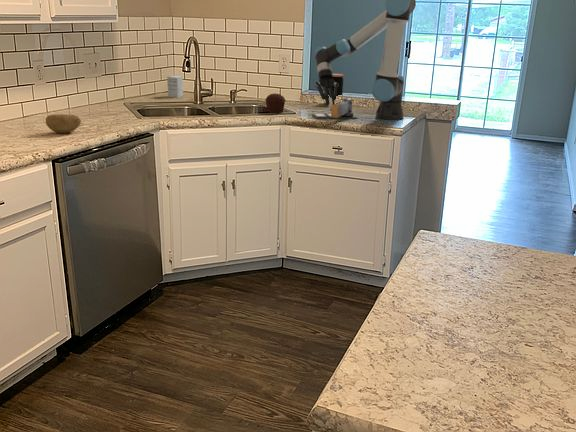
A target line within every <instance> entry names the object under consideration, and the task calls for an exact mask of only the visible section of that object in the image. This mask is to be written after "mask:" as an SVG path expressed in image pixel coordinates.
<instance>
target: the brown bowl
mask: <svg viewBox="0 0 576 432" xmlns="http://www.w3.org/2000/svg"><path fill="white" fill-rule="evenodd" d="M81 122H82V120H81V118H80V117H79V116H77V115H75V114H66V113H65V114H63V113H62V114H60V113H59V114H49V115H48V116H46V118H45V124H46V126H47V127H48V129H49V130H51V131H52V132H54V133H58V134H68V133H71V132H74V131H75V130H77V129H78V128H79V127H80V126H81Z"/></svg>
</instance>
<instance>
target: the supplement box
mask: <svg viewBox="0 0 576 432" xmlns="http://www.w3.org/2000/svg"><path fill="white" fill-rule="evenodd" d="M166 81H167V82H166V83H167V88H166V89H167V97H168V98H175V97H176V99H178V98H182V97H184V85H183V84H184V83H183V76H181V75H179V76H178V75H171V76H167V77H166Z"/></svg>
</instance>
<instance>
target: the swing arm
mask: <svg viewBox="0 0 576 432" xmlns="http://www.w3.org/2000/svg"><path fill="white" fill-rule="evenodd" d="M353 101H354V100H353V98H350V97H346V98H345V97H344V98H342V102H339V103H336V104H332V108H331V111H330V114H331V117H335V118H338V117H339V116H341V115H344V114H346V113H351V112H352V111H353Z"/></svg>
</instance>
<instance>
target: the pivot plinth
mask: <svg viewBox="0 0 576 432" xmlns="http://www.w3.org/2000/svg"><path fill="white" fill-rule="evenodd" d="M340 118H341V119H340V120H353V119H354V120H358V117H357V116H355V115H354V112H351V113H346V114H344V115H341V116H340Z"/></svg>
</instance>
